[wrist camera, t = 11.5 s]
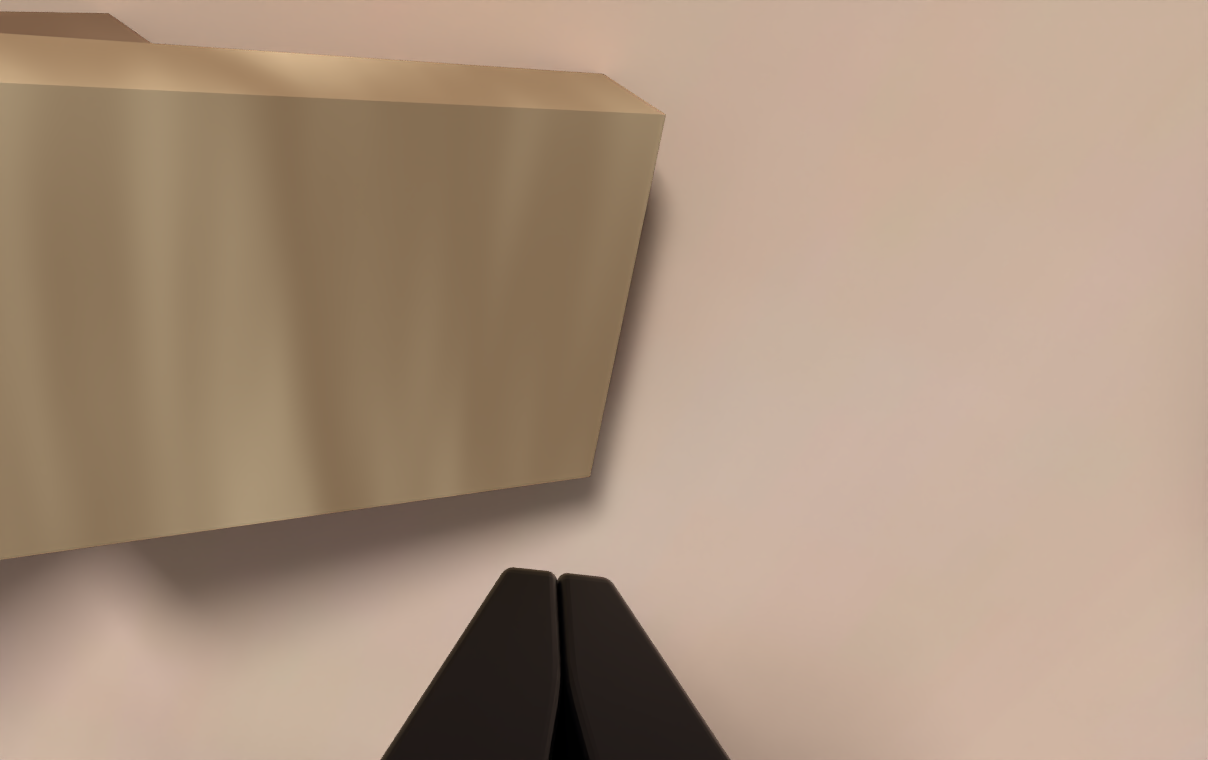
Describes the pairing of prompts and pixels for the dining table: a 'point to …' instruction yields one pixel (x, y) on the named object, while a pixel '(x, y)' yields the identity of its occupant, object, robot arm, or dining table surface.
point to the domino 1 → (68, 26)
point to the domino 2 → (299, 282)
